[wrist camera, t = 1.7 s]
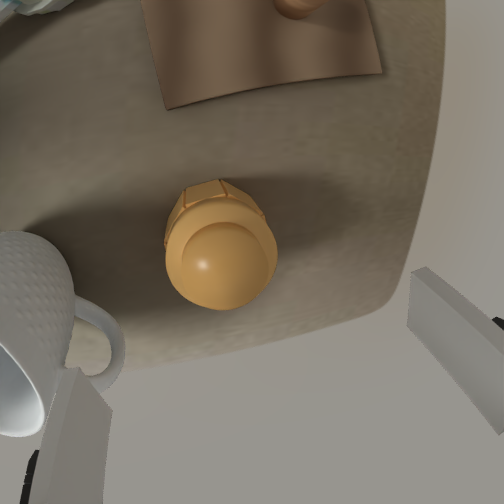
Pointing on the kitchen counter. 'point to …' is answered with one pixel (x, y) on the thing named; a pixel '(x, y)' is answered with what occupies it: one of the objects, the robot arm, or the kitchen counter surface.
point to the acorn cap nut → (219, 246)
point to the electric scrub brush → (31, 6)
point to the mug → (41, 331)
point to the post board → (255, 44)
